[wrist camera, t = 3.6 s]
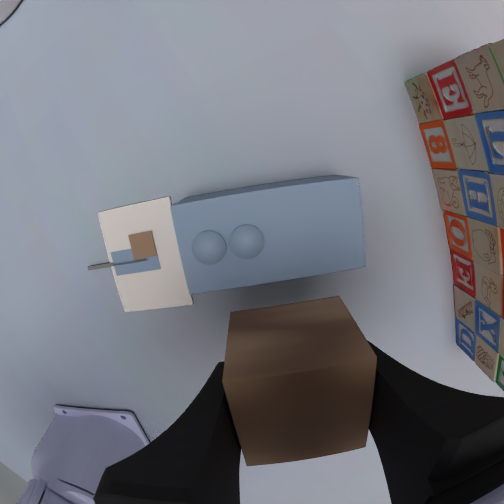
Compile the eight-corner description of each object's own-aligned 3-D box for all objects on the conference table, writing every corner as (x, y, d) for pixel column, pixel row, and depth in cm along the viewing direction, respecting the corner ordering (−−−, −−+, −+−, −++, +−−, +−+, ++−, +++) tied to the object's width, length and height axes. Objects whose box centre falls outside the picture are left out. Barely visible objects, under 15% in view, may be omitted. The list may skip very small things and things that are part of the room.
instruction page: (104, 312, 20) (102, 315, 20) (77, 217, 18) (74, 218, 18) (193, 303, 20) (192, 305, 19) (169, 196, 18) (168, 197, 18)
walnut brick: (247, 392, 14) (247, 466, 9) (230, 311, 13) (222, 381, 8) (340, 378, 14) (365, 446, 9) (339, 295, 12) (376, 357, 8)
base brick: (200, 268, 19) (188, 296, 15) (186, 197, 18) (168, 206, 14) (343, 246, 19) (367, 268, 15) (335, 174, 18) (360, 178, 14)
